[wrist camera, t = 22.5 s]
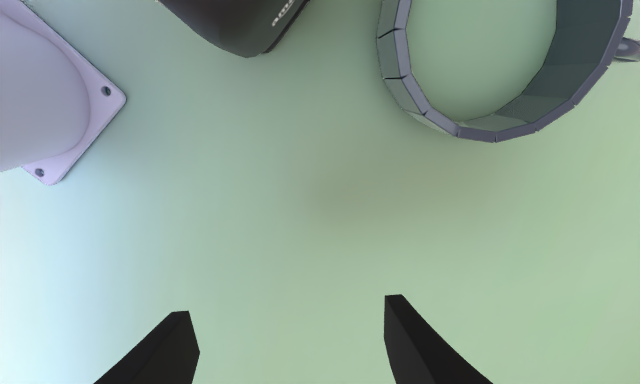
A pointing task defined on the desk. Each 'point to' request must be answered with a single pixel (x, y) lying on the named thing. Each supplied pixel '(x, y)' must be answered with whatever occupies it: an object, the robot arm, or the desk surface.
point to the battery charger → (238, 22)
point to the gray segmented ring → (543, 91)
